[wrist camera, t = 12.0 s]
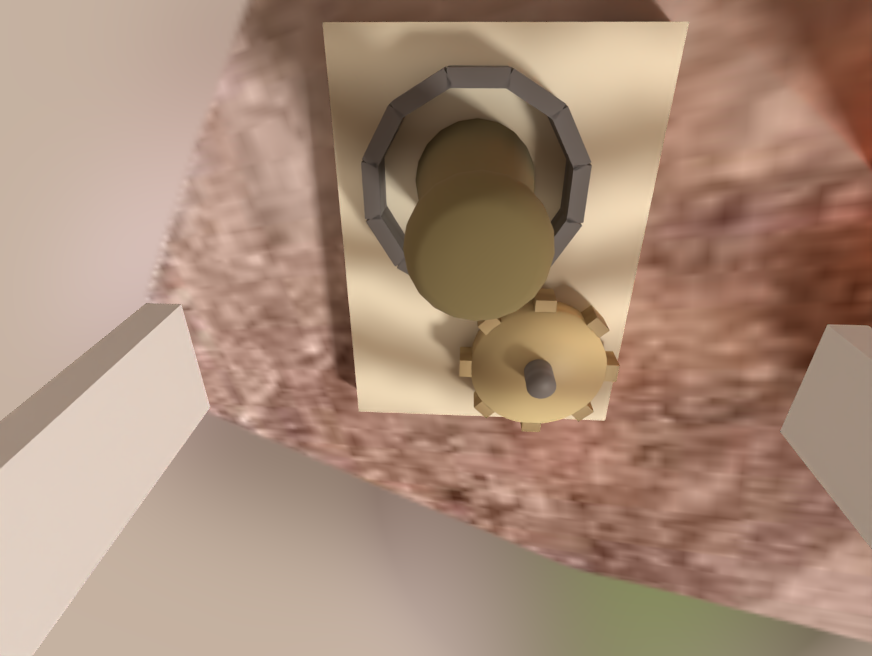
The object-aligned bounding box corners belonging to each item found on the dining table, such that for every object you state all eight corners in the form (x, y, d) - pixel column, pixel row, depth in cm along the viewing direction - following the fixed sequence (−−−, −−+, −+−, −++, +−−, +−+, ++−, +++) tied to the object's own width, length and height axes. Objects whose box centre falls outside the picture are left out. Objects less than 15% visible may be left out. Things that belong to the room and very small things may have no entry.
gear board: (333, 23, 24) (299, 18, 20) (672, 23, 24) (724, 18, 19) (364, 393, 35) (347, 448, 30) (597, 401, 34) (618, 459, 30)
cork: (415, 237, 27) (388, 344, 18) (414, 117, 24) (380, 168, 15) (528, 240, 27) (561, 351, 17) (541, 119, 24) (590, 173, 14)
